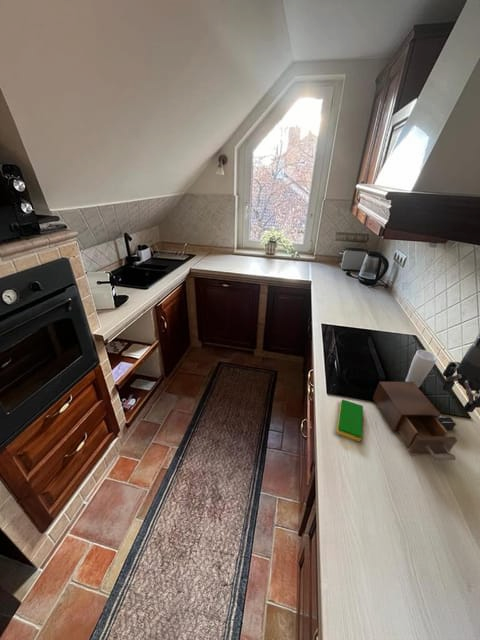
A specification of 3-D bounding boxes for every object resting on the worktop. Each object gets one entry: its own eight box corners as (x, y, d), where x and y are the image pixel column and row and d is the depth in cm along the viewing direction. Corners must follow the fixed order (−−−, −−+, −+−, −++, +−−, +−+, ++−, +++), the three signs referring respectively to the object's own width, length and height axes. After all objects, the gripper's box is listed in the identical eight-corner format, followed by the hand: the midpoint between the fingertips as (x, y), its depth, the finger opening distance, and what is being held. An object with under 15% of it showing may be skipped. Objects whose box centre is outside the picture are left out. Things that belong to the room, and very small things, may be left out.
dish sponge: (361, 410, 91) (363, 405, 90) (359, 442, 80) (361, 437, 79) (340, 403, 94) (342, 399, 93) (336, 433, 83) (338, 428, 82)
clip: (446, 422, 88) (450, 416, 86) (452, 430, 85) (456, 423, 83) (431, 422, 88) (435, 416, 86) (437, 430, 85) (442, 423, 83)
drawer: (458, 468, 73) (469, 453, 70) (419, 468, 73) (428, 454, 69) (419, 417, 88) (427, 403, 85) (387, 417, 88) (393, 403, 85)
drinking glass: (425, 391, 100) (440, 361, 93) (406, 388, 101) (421, 359, 94) (417, 379, 106) (431, 350, 99) (400, 377, 107) (413, 348, 100)
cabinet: (430, 432, 84) (441, 414, 80) (392, 432, 84) (401, 414, 80) (404, 398, 97) (412, 381, 93) (372, 398, 97) (379, 381, 92)
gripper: (517, 378, 67) (486, 419, 75) (473, 346, 79) (450, 384, 87) (490, 377, 66) (461, 419, 75) (450, 345, 79) (429, 384, 87)
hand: (455, 400), depth 81 cm, fingers open, 8 cm apart
